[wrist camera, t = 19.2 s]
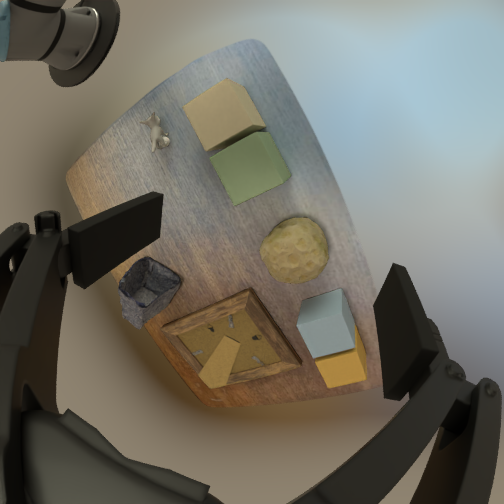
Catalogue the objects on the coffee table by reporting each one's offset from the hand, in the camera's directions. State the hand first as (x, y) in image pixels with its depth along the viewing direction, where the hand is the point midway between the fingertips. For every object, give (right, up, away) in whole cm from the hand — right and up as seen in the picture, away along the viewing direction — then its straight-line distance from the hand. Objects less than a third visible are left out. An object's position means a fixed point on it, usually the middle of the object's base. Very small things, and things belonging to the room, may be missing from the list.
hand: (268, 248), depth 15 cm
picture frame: (-5, -19, +40) cm, 45 cm away
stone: (-19, -6, +39) cm, 43 cm away
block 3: (+12, -10, +31) cm, 35 cm away
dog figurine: (-15, +19, +27) cm, 36 cm away
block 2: (0, +12, +25) cm, 28 cm away
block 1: (-3, +19, +23) cm, 30 cm away
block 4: (+16, -17, +33) cm, 40 cm away
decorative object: (+6, +1, +28) cm, 29 cm away
